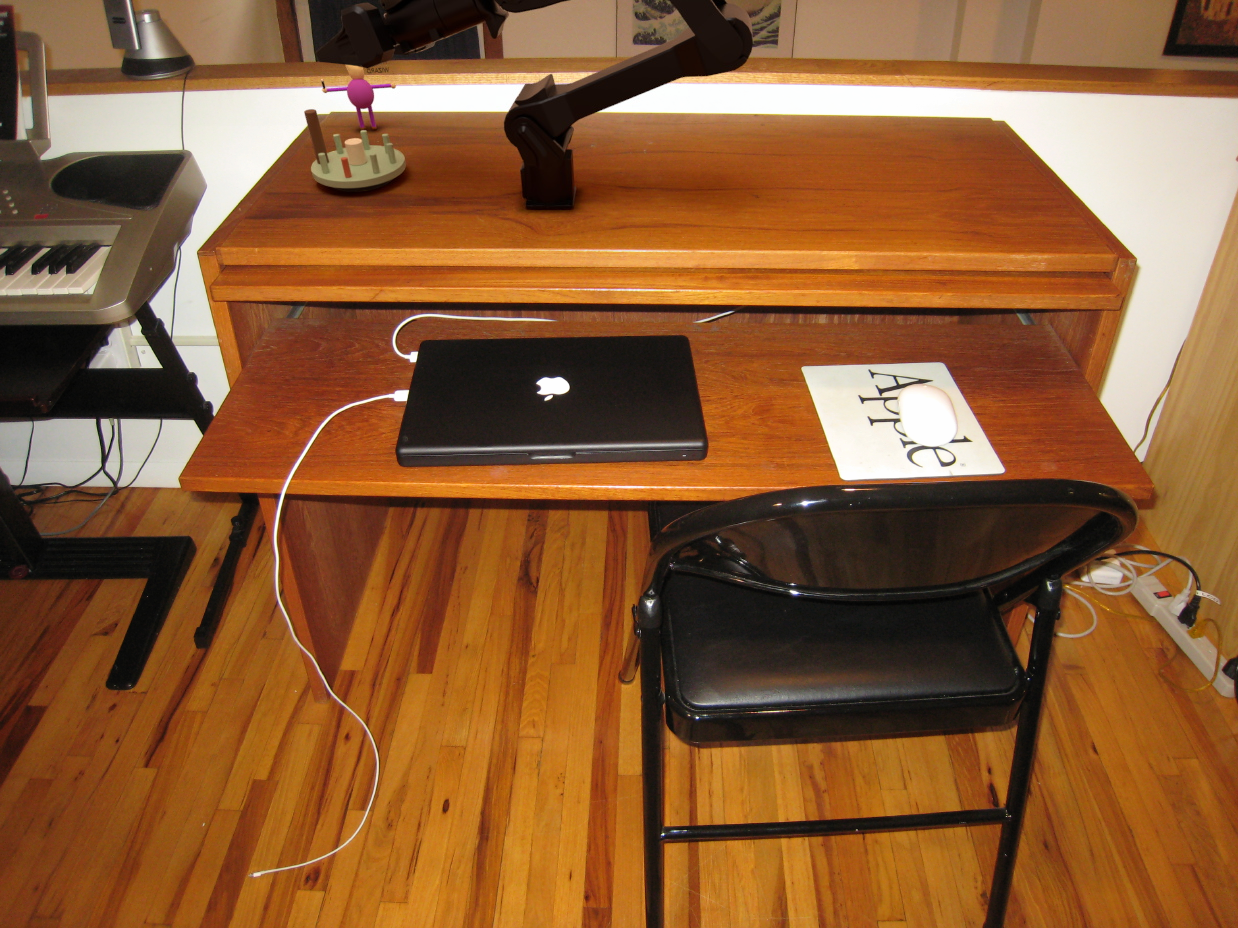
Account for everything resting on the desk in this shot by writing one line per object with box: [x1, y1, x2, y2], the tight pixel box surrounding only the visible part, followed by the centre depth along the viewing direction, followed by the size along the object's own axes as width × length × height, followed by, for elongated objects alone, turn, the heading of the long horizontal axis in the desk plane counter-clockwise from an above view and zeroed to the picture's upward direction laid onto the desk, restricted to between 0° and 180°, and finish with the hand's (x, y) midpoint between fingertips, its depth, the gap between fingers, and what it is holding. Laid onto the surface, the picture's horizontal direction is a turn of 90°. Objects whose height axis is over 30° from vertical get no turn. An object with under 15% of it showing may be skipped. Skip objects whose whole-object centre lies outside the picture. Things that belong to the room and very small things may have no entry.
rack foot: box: [332, 179, 393, 193], centre depth 117 cm, size 9×9×1 cm
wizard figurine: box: [320, 62, 397, 131], centre depth 128 cm, size 11×3×12 cm, turn 99°
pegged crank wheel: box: [303, 108, 407, 189], centre depth 114 cm, size 13×13×8 cm
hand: (335, 52), depth 101 cm, fingers open, 9 cm apart
